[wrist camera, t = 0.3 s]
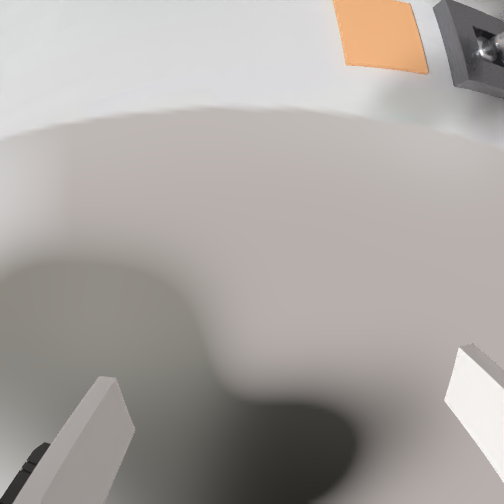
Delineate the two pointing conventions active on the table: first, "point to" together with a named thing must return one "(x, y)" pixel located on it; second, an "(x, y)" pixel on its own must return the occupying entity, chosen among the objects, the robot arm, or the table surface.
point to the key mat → (380, 35)
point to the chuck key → (491, 45)
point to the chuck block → (470, 47)
